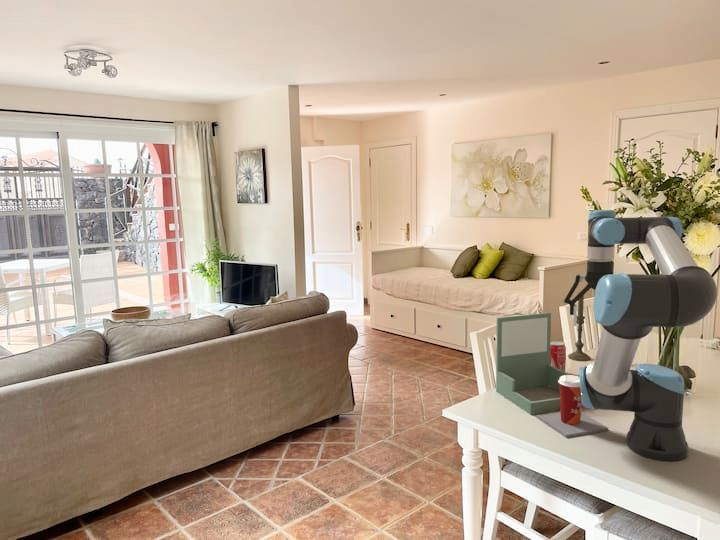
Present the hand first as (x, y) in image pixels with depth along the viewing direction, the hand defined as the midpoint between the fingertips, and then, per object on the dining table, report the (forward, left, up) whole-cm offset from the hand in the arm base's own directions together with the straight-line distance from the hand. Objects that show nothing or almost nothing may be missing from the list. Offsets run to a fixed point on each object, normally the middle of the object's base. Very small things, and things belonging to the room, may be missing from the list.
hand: (598, 326), depth 163 cm
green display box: (+19, +7, -30) cm, 36 cm away
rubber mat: (-2, +10, -30) cm, 32 cm away
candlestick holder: (+54, -36, -30) cm, 71 cm away
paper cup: (-2, +10, -29) cm, 31 cm away
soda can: (+39, -14, -30) cm, 51 cm away
